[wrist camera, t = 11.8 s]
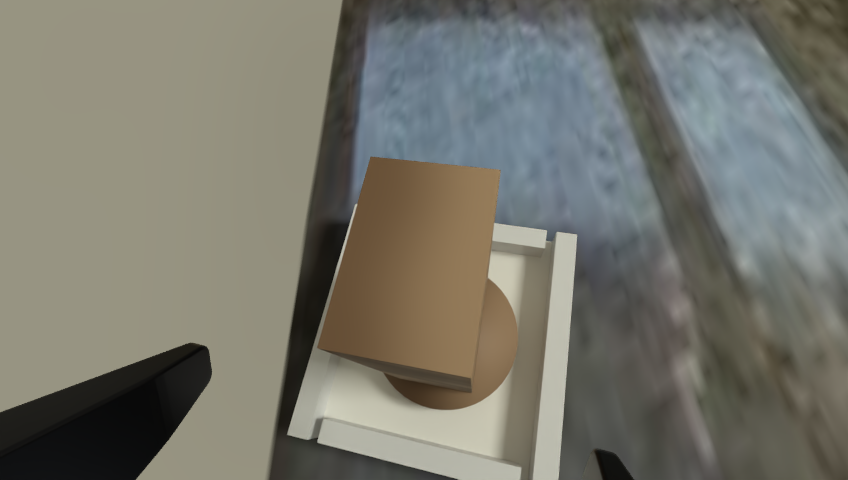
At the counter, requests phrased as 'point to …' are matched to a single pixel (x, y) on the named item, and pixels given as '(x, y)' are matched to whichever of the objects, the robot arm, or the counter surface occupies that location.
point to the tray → (482, 422)
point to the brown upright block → (424, 284)
